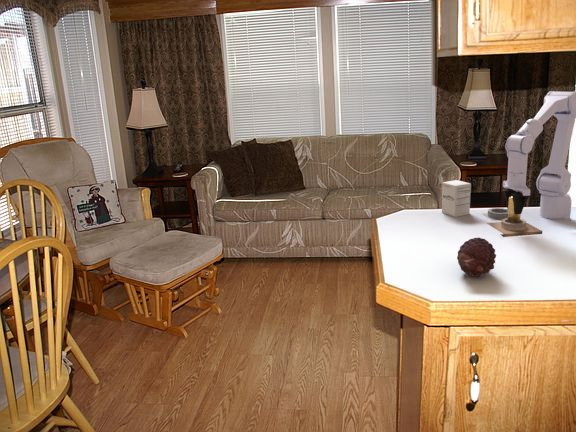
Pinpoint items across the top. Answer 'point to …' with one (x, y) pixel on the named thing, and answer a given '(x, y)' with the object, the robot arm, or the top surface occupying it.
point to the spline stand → (497, 214)
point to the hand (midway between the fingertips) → (514, 212)
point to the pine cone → (476, 257)
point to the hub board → (516, 233)
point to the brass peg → (512, 211)
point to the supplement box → (456, 198)
